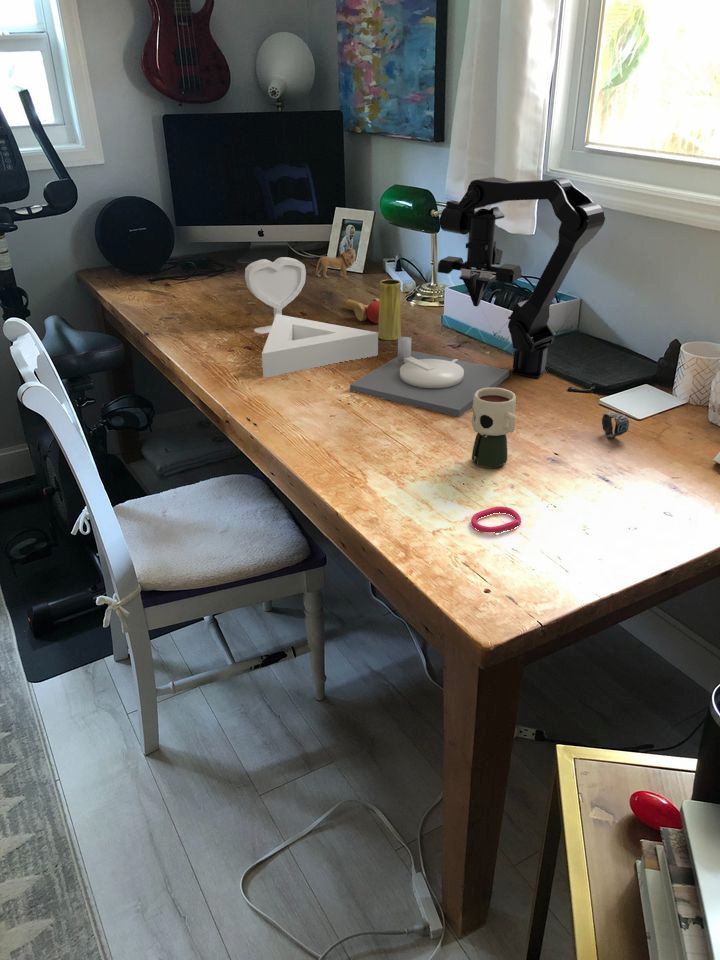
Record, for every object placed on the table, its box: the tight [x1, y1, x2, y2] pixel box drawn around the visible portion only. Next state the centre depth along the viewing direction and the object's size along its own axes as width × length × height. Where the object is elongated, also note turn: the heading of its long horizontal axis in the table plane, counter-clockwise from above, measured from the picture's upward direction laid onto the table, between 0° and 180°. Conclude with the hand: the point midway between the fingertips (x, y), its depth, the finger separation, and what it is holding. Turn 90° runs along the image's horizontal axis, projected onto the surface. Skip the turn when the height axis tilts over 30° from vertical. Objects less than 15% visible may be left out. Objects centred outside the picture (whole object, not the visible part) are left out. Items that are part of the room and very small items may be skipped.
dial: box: [397, 336, 464, 388], centre depth 168 cm, size 18×14×6 cm
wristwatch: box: [601, 411, 630, 438], centre depth 143 cm, size 3×5×5 cm, turn 16°
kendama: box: [344, 298, 380, 324], centre depth 210 cm, size 8×6×18 cm
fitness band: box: [470, 506, 522, 534], centre depth 118 cm, size 8×6×2 cm
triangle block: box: [261, 314, 379, 379], centre depth 180 cm, size 30×26×6 cm
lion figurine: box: [312, 247, 357, 279], centre depth 248 cm, size 15×5×9 cm, turn 106°
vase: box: [377, 278, 402, 341], centre depth 193 cm, size 6×6×14 cm
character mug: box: [470, 387, 517, 469], centre depth 132 cm, size 11×7×13 cm, turn 30°
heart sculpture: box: [244, 256, 307, 335], centre depth 199 cm, size 16×5×18 cm, turn 116°
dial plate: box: [349, 350, 510, 418], centre depth 168 cm, size 26×26×2 cm
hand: (476, 305), depth 179 cm, fingers closed
